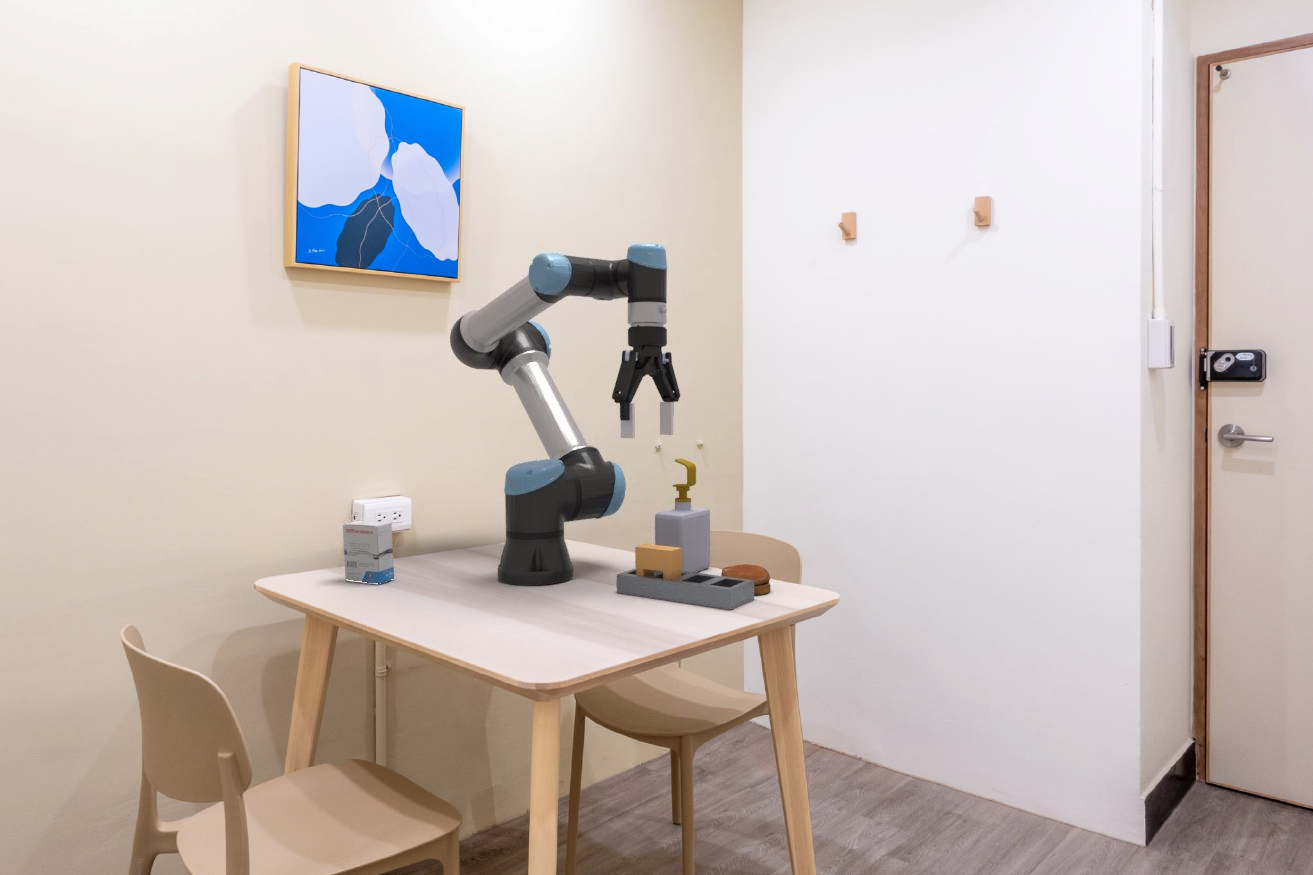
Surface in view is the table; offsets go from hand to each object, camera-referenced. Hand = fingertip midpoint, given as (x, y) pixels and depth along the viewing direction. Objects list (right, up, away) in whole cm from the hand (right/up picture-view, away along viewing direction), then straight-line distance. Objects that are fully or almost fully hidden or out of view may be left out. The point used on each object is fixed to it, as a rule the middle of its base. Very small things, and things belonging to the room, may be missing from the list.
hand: (647, 436), depth 172 cm
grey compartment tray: (+7, -29, -9) cm, 31 cm away
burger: (+18, -29, -5) cm, 35 cm away
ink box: (-55, -29, +4) cm, 63 cm away
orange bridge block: (+2, -28, -6) cm, 28 cm away
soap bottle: (+7, -28, +13) cm, 32 cm away
